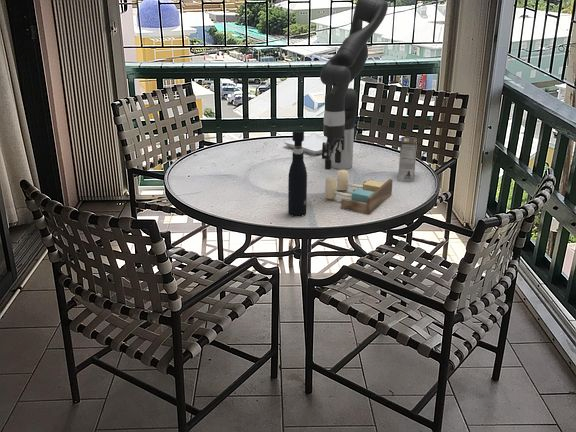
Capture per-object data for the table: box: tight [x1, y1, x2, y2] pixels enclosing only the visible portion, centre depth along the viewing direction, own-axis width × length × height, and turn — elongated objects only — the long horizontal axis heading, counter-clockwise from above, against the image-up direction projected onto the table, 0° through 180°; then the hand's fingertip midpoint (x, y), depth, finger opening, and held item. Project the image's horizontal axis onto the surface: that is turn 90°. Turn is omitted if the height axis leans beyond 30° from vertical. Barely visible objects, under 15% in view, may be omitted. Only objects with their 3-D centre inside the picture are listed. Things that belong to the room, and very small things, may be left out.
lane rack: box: [340, 178, 393, 215], centre depth 231 cm, size 11×22×6 cm, turn 151°
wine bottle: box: [287, 129, 308, 217], centre depth 215 cm, size 6×6×30 cm
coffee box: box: [397, 136, 418, 182], centre depth 252 cm, size 9×6×16 cm
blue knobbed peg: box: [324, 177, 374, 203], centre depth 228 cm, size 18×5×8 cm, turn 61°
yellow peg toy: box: [336, 169, 385, 192], centre depth 237 cm, size 18×5×8 cm, turn 61°
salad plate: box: [283, 133, 327, 155], centre depth 292 cm, size 21×21×3 cm
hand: (332, 166), depth 228 cm, fingers open, 8 cm apart
